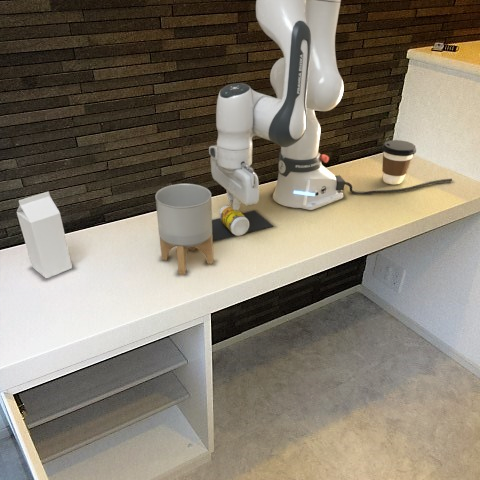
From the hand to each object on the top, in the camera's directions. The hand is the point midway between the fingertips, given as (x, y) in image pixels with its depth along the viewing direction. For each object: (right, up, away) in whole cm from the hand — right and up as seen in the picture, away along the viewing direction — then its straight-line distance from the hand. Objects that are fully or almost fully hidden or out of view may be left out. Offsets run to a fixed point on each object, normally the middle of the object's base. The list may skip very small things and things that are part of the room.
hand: (234, 207), depth 133 cm
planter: (-12, -15, -6) cm, 20 cm away
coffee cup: (+53, +17, +36) cm, 66 cm away
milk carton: (-45, -17, -9) cm, 49 cm away
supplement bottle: (+2, -5, +2) cm, 6 cm away
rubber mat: (0, -3, +9) cm, 9 cm away
